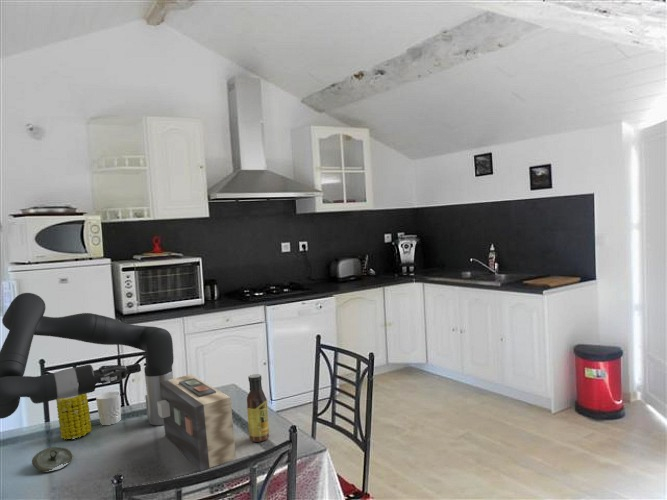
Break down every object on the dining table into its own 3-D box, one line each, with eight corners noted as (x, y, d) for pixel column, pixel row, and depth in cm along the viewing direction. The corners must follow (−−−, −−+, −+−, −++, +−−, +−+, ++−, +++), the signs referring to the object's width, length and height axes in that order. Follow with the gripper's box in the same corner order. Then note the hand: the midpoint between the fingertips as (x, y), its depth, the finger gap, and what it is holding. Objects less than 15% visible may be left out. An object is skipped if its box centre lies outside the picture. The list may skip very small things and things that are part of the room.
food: (66, 448, 169) (61, 440, 177) (103, 429, 176) (96, 422, 184) (49, 406, 166) (45, 400, 175) (87, 389, 173) (81, 384, 181)
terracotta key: (191, 435, 145) (189, 421, 145) (186, 431, 148) (184, 417, 148) (199, 433, 146) (198, 418, 146) (194, 428, 150) (193, 414, 150)
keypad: (200, 470, 143) (194, 404, 141) (165, 435, 169) (159, 379, 168) (235, 458, 149) (230, 394, 147) (196, 426, 175) (191, 371, 174)
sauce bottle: (265, 443, 157) (260, 379, 156) (246, 442, 159) (240, 379, 157) (272, 434, 164) (267, 372, 162) (254, 433, 165) (248, 372, 164)
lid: (62, 455, 160) (60, 439, 160) (80, 461, 155) (78, 445, 154) (26, 470, 151) (24, 453, 151) (44, 477, 146) (42, 460, 146)
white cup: (103, 419, 188) (100, 392, 188) (125, 417, 189) (122, 390, 188) (95, 427, 181) (92, 400, 180) (118, 425, 181) (115, 397, 181)
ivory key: (162, 418, 160) (161, 405, 160) (158, 414, 164) (157, 401, 163) (170, 416, 162) (169, 402, 161) (166, 412, 165) (165, 399, 165)
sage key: (179, 425, 153) (178, 411, 153) (174, 421, 157) (173, 408, 156) (187, 423, 155) (186, 409, 154) (183, 419, 158) (181, 405, 158)
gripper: (71, 389, 145) (135, 375, 155) (79, 401, 134) (147, 384, 144) (68, 363, 145) (132, 350, 155) (76, 373, 134) (145, 358, 144)
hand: (140, 367), depth 149 cm, fingers closed
